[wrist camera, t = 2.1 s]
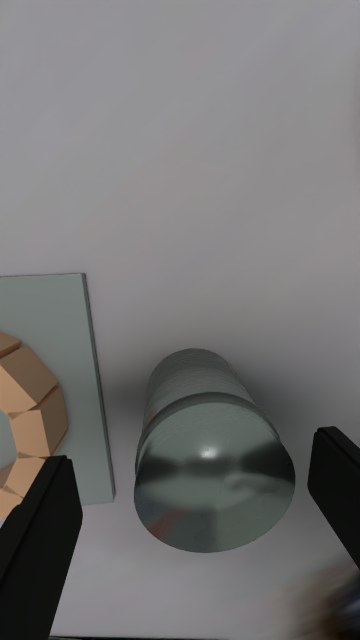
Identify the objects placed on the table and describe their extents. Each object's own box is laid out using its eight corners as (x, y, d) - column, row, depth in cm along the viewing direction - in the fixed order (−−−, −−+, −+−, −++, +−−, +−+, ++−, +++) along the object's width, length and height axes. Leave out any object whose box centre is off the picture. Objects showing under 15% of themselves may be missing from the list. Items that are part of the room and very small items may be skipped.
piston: (237, 426, 16) (291, 545, 9) (149, 433, 16) (138, 563, 9) (238, 344, 14) (305, 412, 8) (142, 350, 14) (122, 427, 7)
